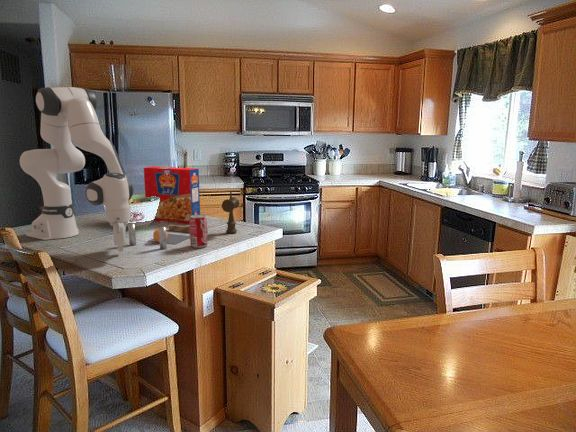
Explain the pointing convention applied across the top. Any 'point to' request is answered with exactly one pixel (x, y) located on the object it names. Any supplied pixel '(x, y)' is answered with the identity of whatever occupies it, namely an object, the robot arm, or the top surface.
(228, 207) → the kendama
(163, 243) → the right post
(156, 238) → the ball
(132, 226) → the left post
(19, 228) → the top surface
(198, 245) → the soda can
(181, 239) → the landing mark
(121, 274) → the top surface
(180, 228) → the stopper wall
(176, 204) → the pasta box
